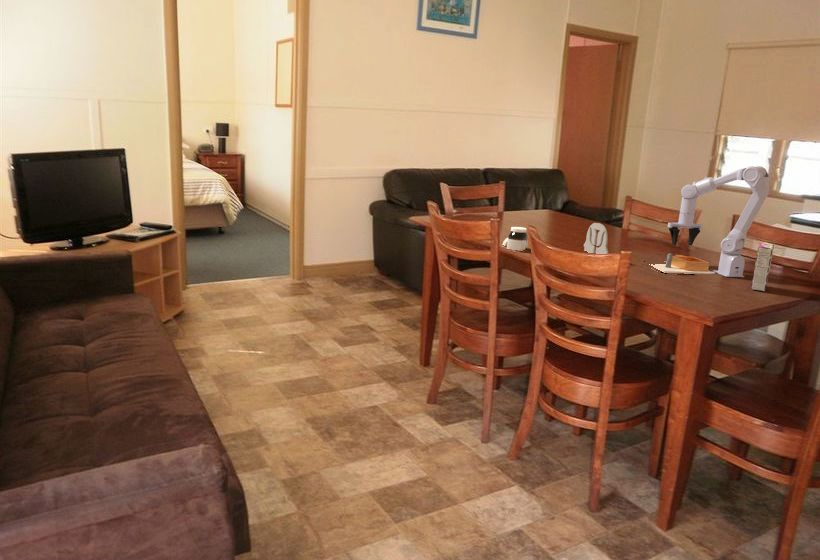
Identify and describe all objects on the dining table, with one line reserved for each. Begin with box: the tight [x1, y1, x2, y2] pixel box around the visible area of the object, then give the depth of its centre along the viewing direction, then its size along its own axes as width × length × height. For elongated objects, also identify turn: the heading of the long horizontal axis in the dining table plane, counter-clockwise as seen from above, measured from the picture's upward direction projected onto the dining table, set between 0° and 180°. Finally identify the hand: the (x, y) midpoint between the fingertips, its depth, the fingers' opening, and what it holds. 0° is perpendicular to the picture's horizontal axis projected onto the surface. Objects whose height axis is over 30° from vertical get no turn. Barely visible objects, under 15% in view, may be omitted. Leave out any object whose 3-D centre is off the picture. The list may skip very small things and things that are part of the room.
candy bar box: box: [750, 242, 775, 292], centre depth 234 cm, size 11×5×16 cm, turn 148°
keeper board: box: [649, 252, 716, 275], centre depth 261 cm, size 20×22×7 cm
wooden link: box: [671, 254, 710, 271], centre depth 262 cm, size 15×10×4 cm, turn 6°
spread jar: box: [502, 226, 529, 250], centre depth 276 cm, size 12×11×12 cm
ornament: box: [583, 222, 609, 255], centre depth 265 cm, size 22×13×17 cm, turn 15°
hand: (682, 244), depth 266 cm, fingers open, 7 cm apart
